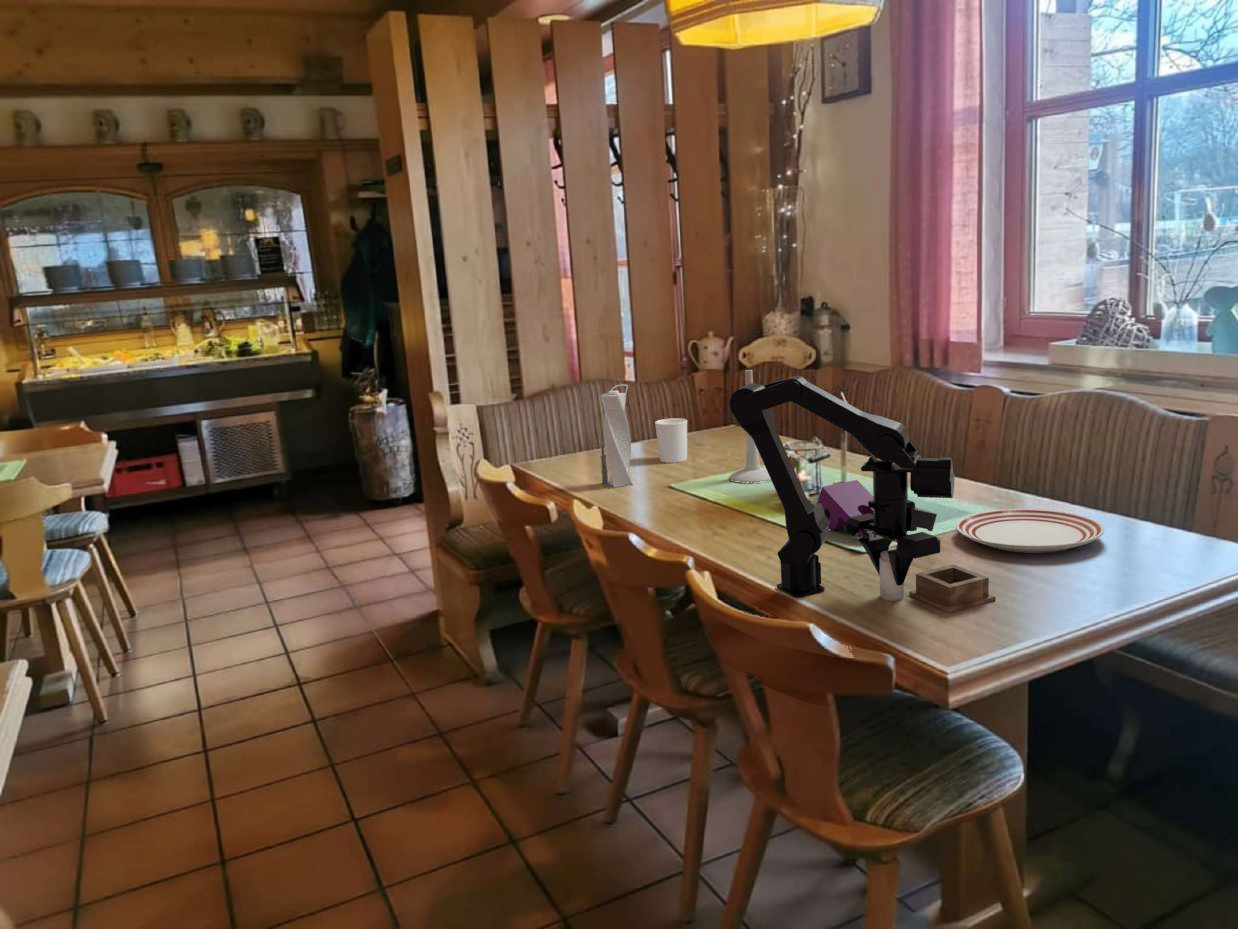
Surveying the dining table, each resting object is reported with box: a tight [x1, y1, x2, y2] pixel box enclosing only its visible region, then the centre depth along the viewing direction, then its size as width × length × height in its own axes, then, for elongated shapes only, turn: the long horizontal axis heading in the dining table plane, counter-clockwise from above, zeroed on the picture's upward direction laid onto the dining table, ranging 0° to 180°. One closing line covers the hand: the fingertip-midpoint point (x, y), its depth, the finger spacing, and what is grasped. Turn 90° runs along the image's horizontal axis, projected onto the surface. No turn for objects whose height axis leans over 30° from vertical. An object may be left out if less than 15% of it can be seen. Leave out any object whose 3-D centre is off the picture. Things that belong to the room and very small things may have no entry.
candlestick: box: [729, 368, 771, 483], centre depth 254 cm, size 13×13×30 cm
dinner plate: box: [955, 508, 1105, 554], centre depth 190 cm, size 27×27×3 cm
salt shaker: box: [879, 549, 905, 602], centre depth 165 cm, size 4×4×8 cm
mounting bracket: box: [816, 479, 874, 538], centre depth 204 cm, size 9×8×18 cm
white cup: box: [654, 417, 688, 464], centre depth 285 cm, size 10×10×12 cm
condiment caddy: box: [908, 563, 997, 613], centre depth 163 cm, size 10×10×4 cm
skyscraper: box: [600, 383, 634, 489], centre depth 258 cm, size 8×8×28 cm
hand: (891, 581), depth 165 cm, fingers open, 4 cm apart
